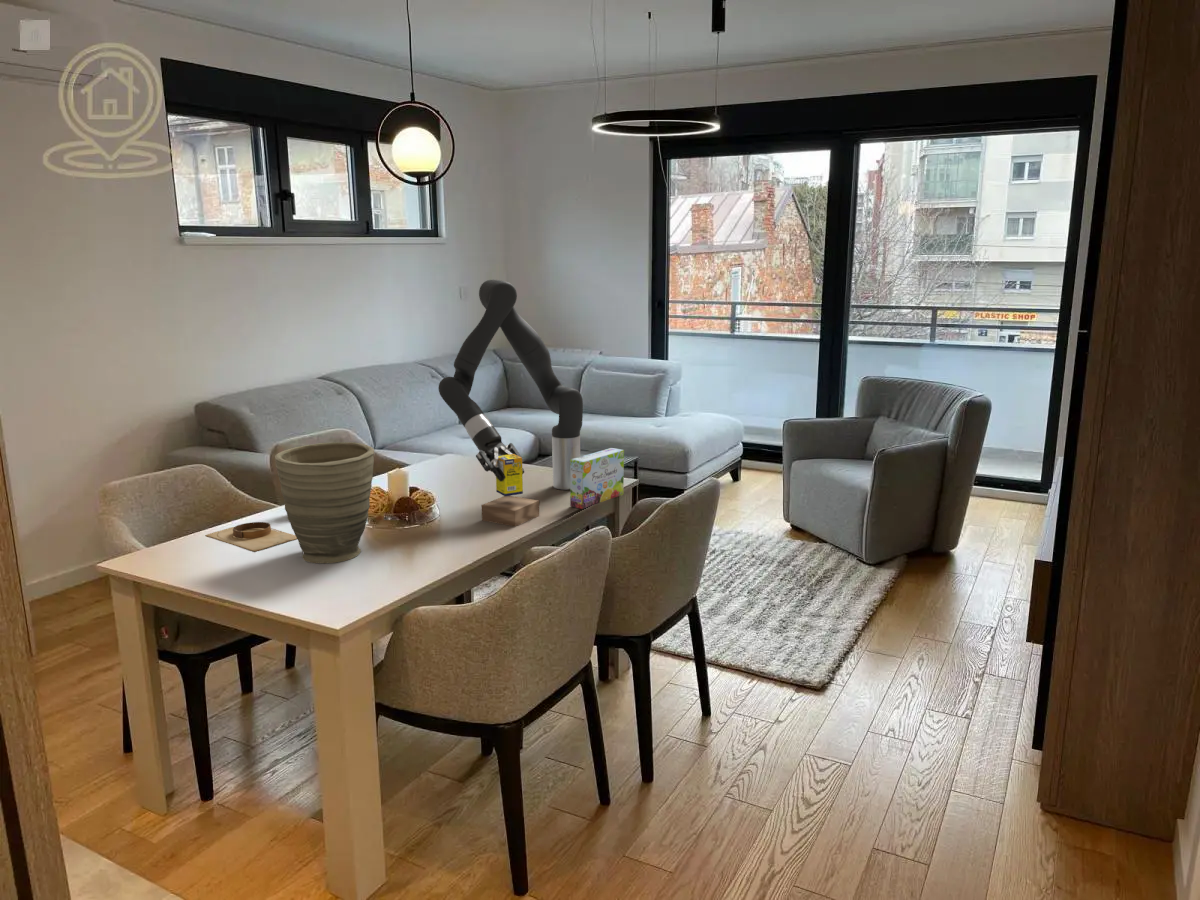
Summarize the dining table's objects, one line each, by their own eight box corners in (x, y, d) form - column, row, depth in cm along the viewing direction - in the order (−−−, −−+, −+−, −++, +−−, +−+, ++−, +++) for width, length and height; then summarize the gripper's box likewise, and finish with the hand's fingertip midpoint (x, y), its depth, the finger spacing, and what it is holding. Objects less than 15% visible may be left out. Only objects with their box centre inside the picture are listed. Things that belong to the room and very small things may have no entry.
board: (202, 537, 244) (201, 526, 244) (251, 524, 257) (250, 513, 256) (255, 554, 230) (254, 543, 230) (304, 539, 242) (303, 528, 242)
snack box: (584, 510, 265) (583, 461, 262) (569, 507, 268) (568, 459, 265) (624, 494, 282) (624, 448, 278) (610, 491, 285) (610, 446, 282)
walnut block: (506, 511, 266) (506, 495, 265) (539, 516, 260) (539, 500, 259) (482, 521, 256) (481, 505, 255) (515, 527, 250) (514, 510, 249)
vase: (269, 554, 230) (270, 440, 229) (362, 550, 241) (364, 441, 239) (278, 573, 208) (280, 446, 207) (380, 567, 219) (383, 447, 217)
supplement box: (523, 494, 255) (522, 457, 253) (504, 496, 252) (503, 459, 250) (514, 489, 260) (513, 453, 258) (495, 492, 257) (494, 455, 255)
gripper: (471, 429, 251) (502, 474, 246) (505, 421, 262) (535, 464, 258) (459, 444, 255) (489, 489, 251) (493, 436, 266) (522, 479, 262)
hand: (512, 476), depth 254 cm, fingers closed on supplement box, 7 cm apart
